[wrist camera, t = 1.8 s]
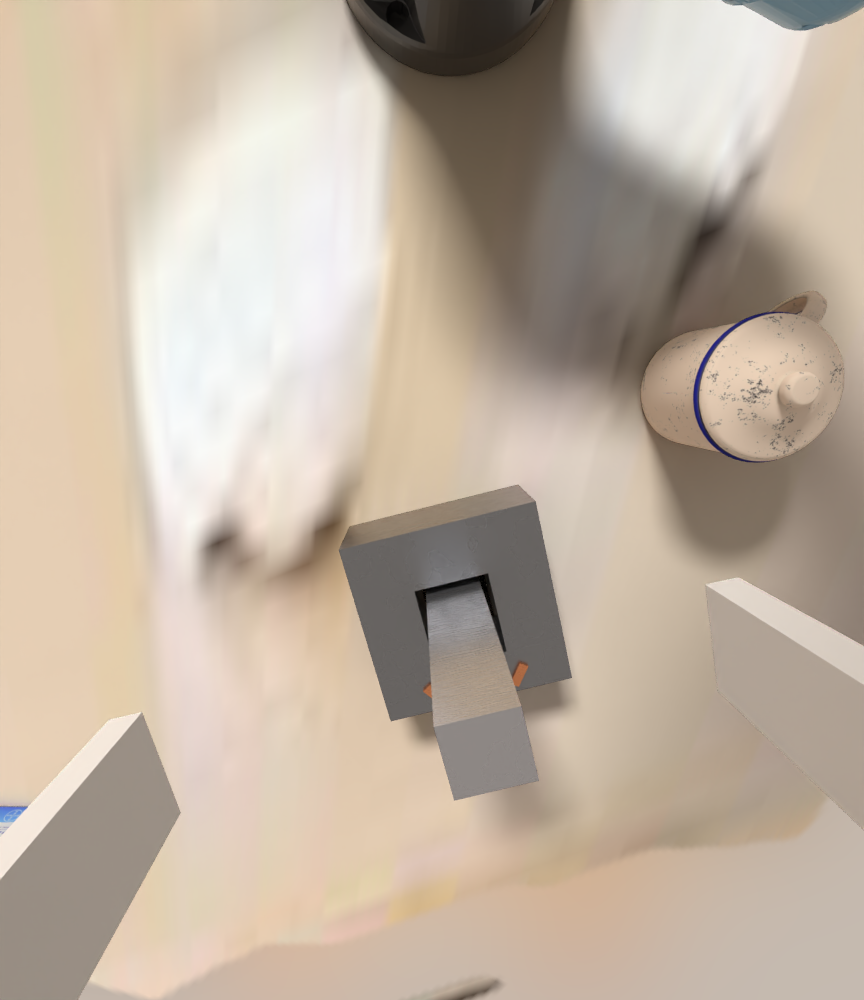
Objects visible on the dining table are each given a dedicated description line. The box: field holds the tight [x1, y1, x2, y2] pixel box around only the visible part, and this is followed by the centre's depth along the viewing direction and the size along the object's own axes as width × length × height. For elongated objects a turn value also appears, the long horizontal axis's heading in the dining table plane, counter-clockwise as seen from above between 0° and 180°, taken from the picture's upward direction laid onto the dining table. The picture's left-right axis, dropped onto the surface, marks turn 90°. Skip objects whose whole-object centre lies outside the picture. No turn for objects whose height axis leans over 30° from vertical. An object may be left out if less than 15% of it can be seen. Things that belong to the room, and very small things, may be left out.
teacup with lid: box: [641, 291, 844, 462], centre depth 34 cm, size 12×9×12 cm
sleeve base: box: [339, 485, 572, 721], centre depth 39 cm, size 14×14×8 cm
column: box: [426, 576, 539, 800], centre depth 33 cm, size 5×4×20 cm
